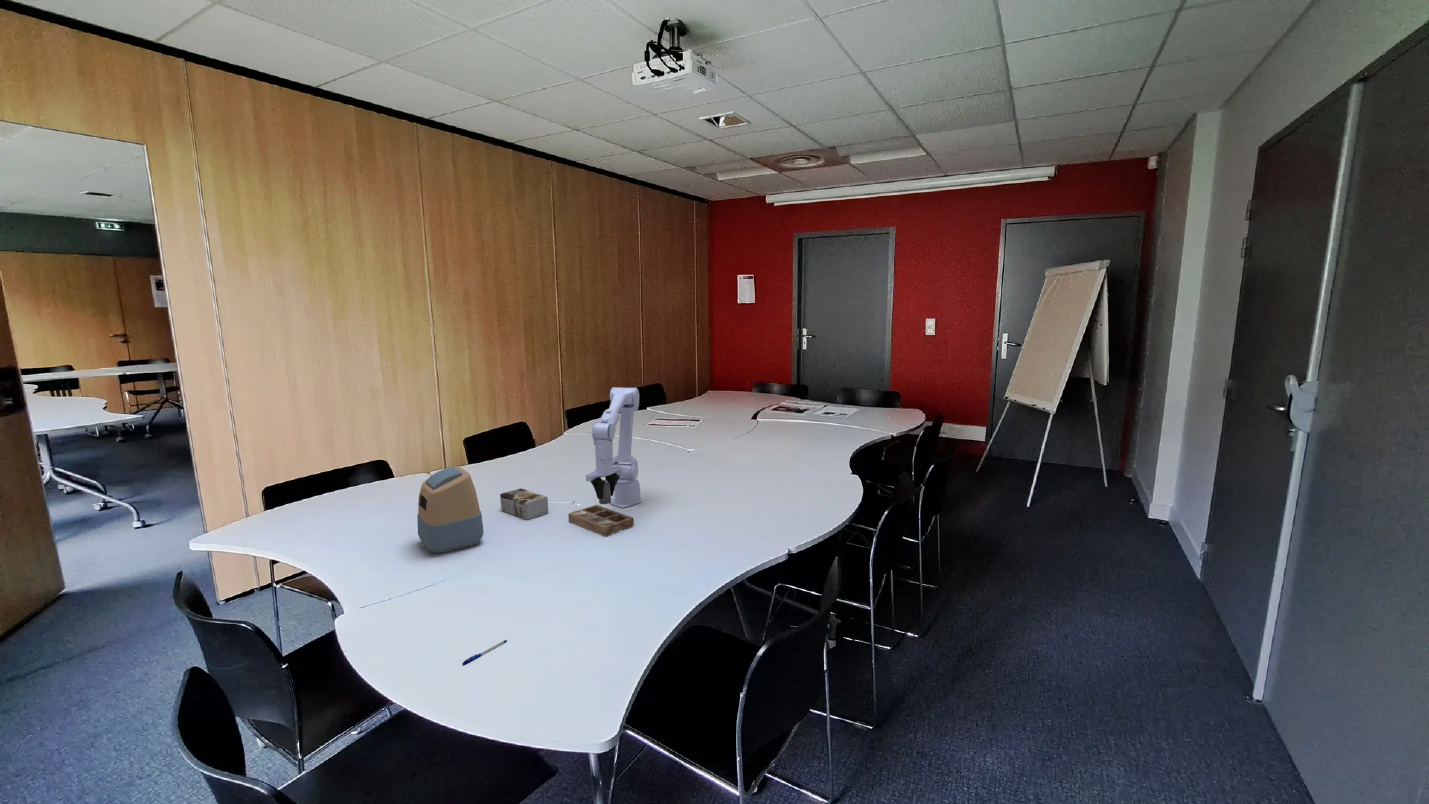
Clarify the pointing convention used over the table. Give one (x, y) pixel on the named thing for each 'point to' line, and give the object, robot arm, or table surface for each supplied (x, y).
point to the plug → (606, 493)
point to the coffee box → (524, 503)
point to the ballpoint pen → (482, 653)
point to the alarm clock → (449, 511)
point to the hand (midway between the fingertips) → (605, 497)
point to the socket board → (601, 520)
